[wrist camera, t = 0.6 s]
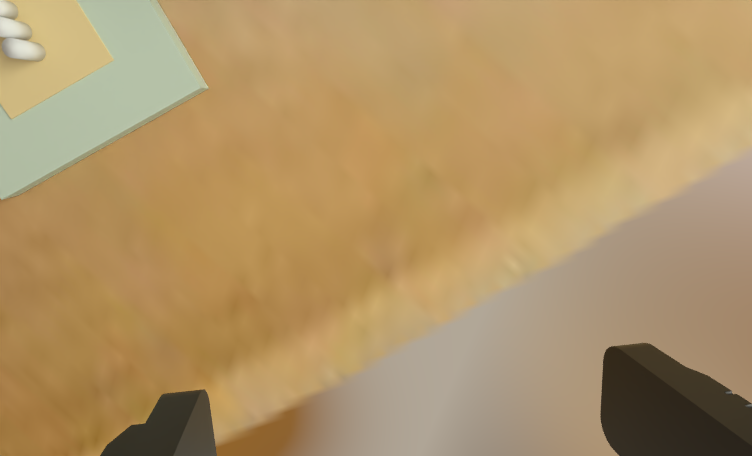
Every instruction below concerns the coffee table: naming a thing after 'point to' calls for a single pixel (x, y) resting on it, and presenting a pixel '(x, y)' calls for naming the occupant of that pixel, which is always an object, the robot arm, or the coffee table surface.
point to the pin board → (82, 81)
